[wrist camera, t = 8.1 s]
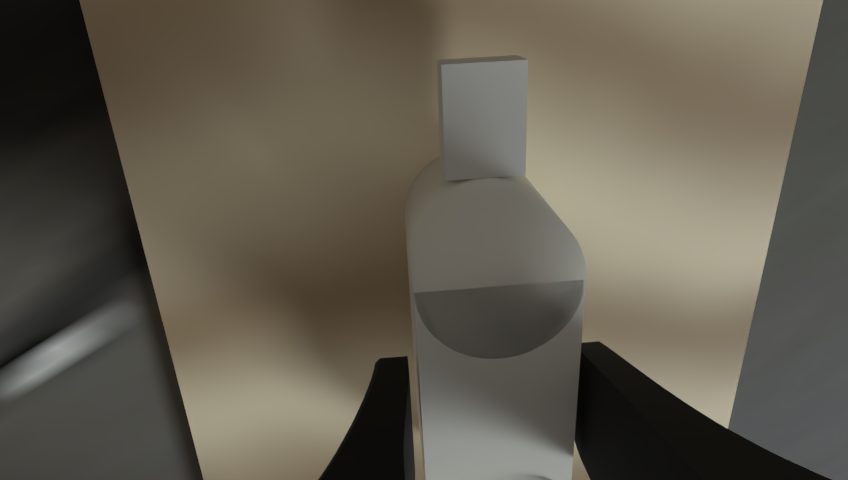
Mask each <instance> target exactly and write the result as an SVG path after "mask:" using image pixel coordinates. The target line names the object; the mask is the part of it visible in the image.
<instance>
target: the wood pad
mask: <svg viewBox="0 0 848 480" xmlns="http://www.w3.org/2000/svg"><path fill="white" fill-rule="evenodd" d="M79 1H80V5H81V9H82V12H83V16H84V20H85V24H86V28H87V32H88V36H89V39H90V43H91V47H92V51H93V55H94V59H95V63H96V66H97V70H98V74H99V78H100V82H101V86H102V90H103V94H104V97H105V101H106V105H107V109H108V113H109V117H110V121H111V124H112V128H113V132H114V136H115V140H116V144H117V148H118V151H119V155H120V159H121V163H122V167H123V171H124V175H125V179H126V182H127V186H128V190H129V194H130V198H131V202H132V206H133V209H134V213H135V217H136V221H137V225H138V229H139V233H140V236H141V240H142V244H143V248H144V252H145V256H146V260H147V264H148V267H149V271H150V275H151V279H152V283H153V287H154V291H155V294H156V298H157V302H158V306H159V310H160V314H161V318H162V322H163V325H164V329H165V333H166V337H167V341H168V345H169V349H170V352H171V356H172V360H173V364H174V368H175V372H176V376H177V379H178V383H179V387H180V391H181V395H182V399H183V403H184V407H185V410H186V414H187V418H188V422H189V426H190V430H191V434H192V437H193V441H194V445H195V449H196V453H197V457H198V461H199V464H200V468H201V472H202V476H203V480H318V479H319V478H320V476H321V475H322V473H323V472H324V470H325V469H326V467H327V466H328V464H329V463H330V461H331V460H332V458H333V456H334V455H335V453H336V451H337V450H338V448H339V446H340V444H341V443H342V441H343V439H344V437H345V435H346V434H347V432H348V430H349V428H350V426H351V424H352V423H353V421H354V418H355V416H356V414H357V412H358V410H359V408H360V405H361V403H362V401H363V399H364V397H365V394H366V391H367V389H368V386H369V384H370V381H371V378H372V375H373V371H374V366H375V363H376V362H377V361H378V360H379V359H380V358H389V357H402V356H408V366H409V377H410V394H411V410H412V427H413V444H414V461H415V480H424V474H423V463H422V452H421V442H420V431H419V421H418V410H417V395H416V380H415V365H414V350H413V335H412V320H411V305H410V289H409V274H408V259H407V244H406V229H405V203H406V198H407V194H408V191H409V189H410V187H411V185H412V183H413V181H414V180H415V178H416V177H417V175H418V174H419V173H420V172H421V170H423V169H424V168H425V167H426V166H427V165H428V164H429V163H430V162H432V161H433V160H435V159H436V158H438V157H440V136H439V109H438V83H437V60H441V59H458V58H475V57H492V56H509V55H518V56H521V57H523V58H525V59H528V88H527V132H526V175H525V176H526V178H527V179H528V180H529V181H530V182H531V184H532V185H533V186H534V187H535V189H536V190H537V191H538V192H539V193H540V195H541V196H542V197H543V198H544V199H545V201H546V202H547V203H548V204H549V206H550V207H551V208H552V209H553V210H554V212H555V213H556V214H557V215H558V217H559V218H560V219H561V220H562V221H563V223H564V224H565V225H566V226H567V227H568V229H569V230H570V231H571V232H572V234H573V235H574V237H575V238H576V240H577V241H578V243H579V245H580V247H581V250H582V253H583V256H584V259H585V265H586V287H585V301H584V315H583V329H582V343H584V342H597V341H600V342H601V343H603V344H604V345H606V346H607V347H608V348H610V349H611V350H613V351H614V352H615V353H617V354H618V355H619V356H621V357H622V358H623V359H625V360H626V361H627V362H629V363H630V364H631V365H633V366H634V367H636V368H637V369H638V370H640V371H641V372H642V373H644V374H645V375H646V376H648V377H649V378H651V379H652V380H653V381H655V382H656V383H657V384H659V385H660V386H662V387H663V388H665V389H666V390H667V391H669V392H670V393H672V394H673V395H675V396H676V397H678V398H679V399H681V400H682V401H684V402H685V403H687V404H688V405H690V406H691V407H693V408H694V409H696V410H698V411H699V412H701V413H702V414H704V415H706V416H707V417H709V418H710V419H712V420H713V421H715V422H717V423H718V424H720V425H722V426H724V427H725V428H727V429H728V425H729V420H730V416H731V411H732V407H733V402H734V398H735V393H736V389H737V385H738V380H739V376H740V371H741V367H742V362H743V358H744V353H745V349H746V344H747V340H748V335H749V331H750V326H751V322H752V317H753V313H754V308H755V304H756V299H757V295H758V290H759V286H760V281H761V277H762V272H763V268H764V263H765V259H766V254H767V250H768V245H769V241H770V236H771V232H772V227H773V223H774V218H775V214H776V209H777V205H778V200H779V196H780V191H781V187H782V182H783V178H784V173H785V169H786V164H787V160H788V155H789V151H790V146H791V142H792V137H793V133H794V128H795V124H796V119H797V115H798V110H799V106H800V101H801V97H802V92H803V88H804V83H805V79H806V75H807V70H808V66H809V61H810V57H811V52H812V48H813V43H814V39H815V34H816V30H817V25H818V21H819V16H820V12H821V7H822V3H823V0H79ZM572 480H590V478H589V476H588V474H587V471H586V469H585V467H584V465H583V463H582V460H581V458H580V456H579V453H578V450H577V447H576V444H575V441H574V453H573V467H572Z"/></svg>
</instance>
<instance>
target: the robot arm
mask: <svg viewBox="0 0 848 480" xmlns="http://www.w3.org/2000/svg"><path fill="white" fill-rule="evenodd" d="M574 441H575V444H576V447H577V450H578V453H579V456H580V458H581V460H582V463H583V465H584V467H585V469H586V471H587V474H588V476H589V478H590V480H831V479H829V478H826V477H824V476H821V475H819V474H817V473H815V472H813V471H810V470H808V469H806V468H804V467H802V466H799V465H797V464H795V463H793V462H791V461H788V460H786V459H784V458H782V457H780V456H778V455H776V454H774V453H772V452H770V451H768V450H766V449H764V448H762V447H760V446H758V445H756V444H754V443H753V442H751V441H749V440H747V439H745V438H743V437H742V436H740V435H738V434H736V433H734V432H732V431H730V430H729V429H727V428H725V427H724V426H722V425H720V424H718V423H717V422H715V421H713V420H712V419H710V418H709V417H707V416H706V415H704V414H702V413H701V412H699V411H698V410H696V409H694V408H693V407H691V406H690V405H688V404H687V403H685V402H684V401H682V400H681V399H679V398H678V397H676V396H675V395H673V394H672V393H670V392H669V391H667V390H666V389H665V388H663V387H662V386H660V385H659V384H657V383H656V382H655V381H653V380H652V379H651V378H649V377H648V376H646V375H645V374H644V373H642V372H641V371H640V370H638V369H637V368H636V367H634V366H633V365H631V364H630V363H629V362H627V361H626V360H625V359H623V358H622V357H621V356H619V355H618V354H617V353H615V352H614V351H613V350H611V349H610V348H608V347H607V346H606V345H604V344H603V343H601V342H600V341H597V342H584V343H581V357H580V370H579V384H578V398H577V412H576V426H575V440H574ZM318 480H415V461H414V444H413V427H412V410H411V394H410V377H409V366H408V356H402V357H389V358H380V359H379V360H378V361H377V362H376V363H375V366H374V371H373V375H372V378H371V381H370V384H369V386H368V389H367V391H366V394H365V397H364V399H363V401H362V403H361V405H360V408H359V410H358V412H357V414H356V416H355V418H354V421H353V423H352V424H351V426H350V428H349V430H348V432H347V434H346V435H345V437H344V439H343V441H342V443H341V444H340V446H339V448H338V450H337V451H336V453H335V455H334V456H333V458H332V460H331V461H330V463H329V464H328V466H327V467H326V469H325V470H324V472H323V473H322V475H321V476H320V478H319V479H318Z"/></svg>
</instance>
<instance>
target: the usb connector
mask: <svg viewBox="0 0 848 480" xmlns="http://www.w3.org/2000/svg"><path fill="white" fill-rule="evenodd" d="M437 83H438V109H439V136H440V157H438V158H436V159H435V160H433V161H432V162H430V163H429V164H428V165H427V166H426V167H425V168H424V169H423V170H421V172H420V173H419V174H418V175H417V177H416V178H415V180H414V181H413V183H412V185H411V187H410V189H409V191H408V194H407V198H406V203H405V229H406V244H407V259H408V274H409V289H410V305H411V320H412V335H413V350H414V365H415V380H416V395H417V410H418V421H419V431H420V442H421V452H422V463H423V474H424V480H572V467H573V453H574V440H575V426H576V412H577V398H578V384H579V370H580V357H581V343H582V329H583V315H584V301H585V287H586V265H585V259H584V256H583V253H582V250H581V247H580V245H579V243H578V241H577V240H576V238H575V237H574V235H573V234H572V232H571V231H570V230H569V229H568V227H567V226H566V225H565V224H564V223H563V221H562V220H561V219H560V218H559V217H558V215H557V214H556V213H555V212H554V210H553V209H552V208H551V207H550V206H549V204H548V203H547V202H546V201H545V199H544V198H543V197H542V196H541V195H540V193H539V192H538V191H537V190H536V189H535V187H534V186H533V185H532V184H531V182H530V181H529V180H528V179H527V178H526V176H525V175H526V132H527V88H528V59H525V58H523V57H521V56H518V55H509V56H492V57H475V58H458V59H441V60H437Z"/></svg>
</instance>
